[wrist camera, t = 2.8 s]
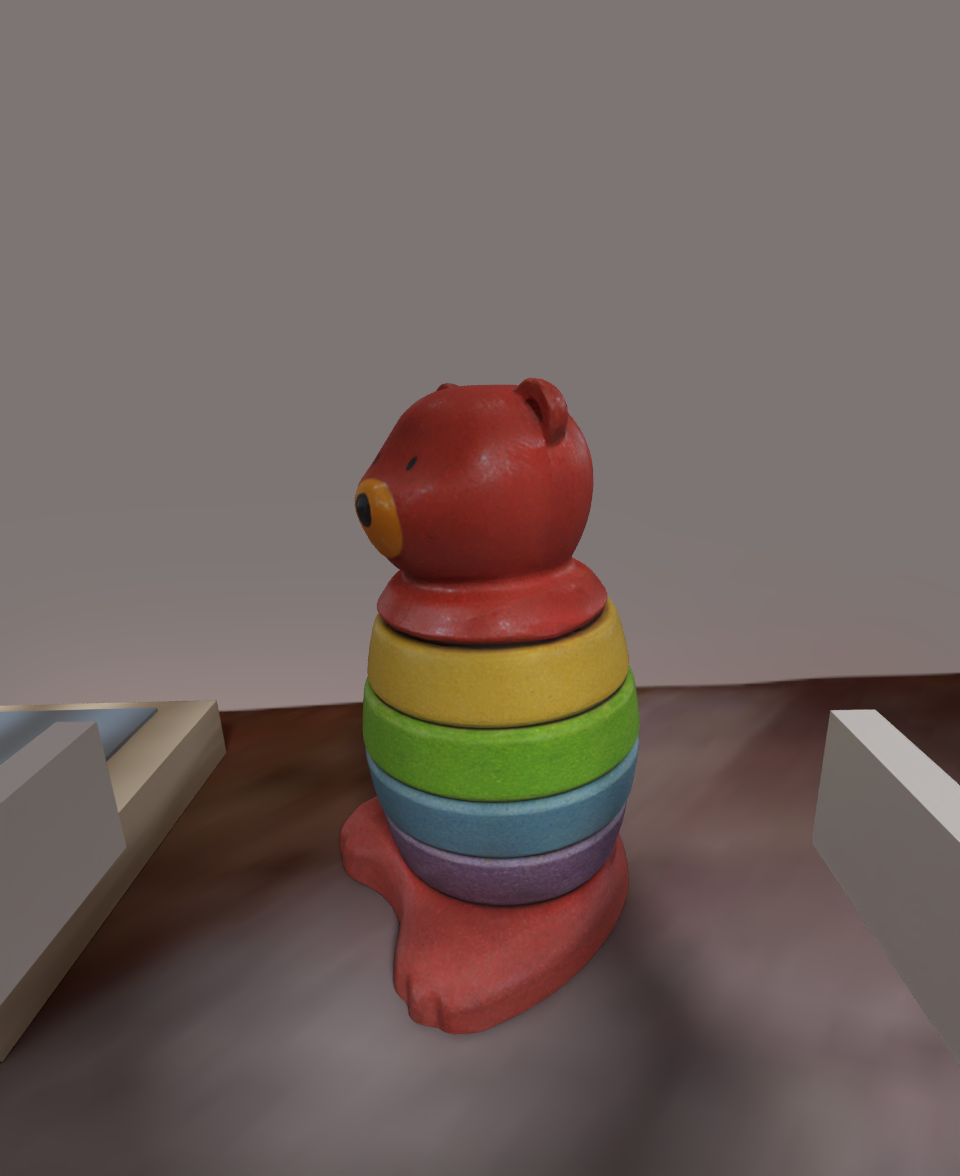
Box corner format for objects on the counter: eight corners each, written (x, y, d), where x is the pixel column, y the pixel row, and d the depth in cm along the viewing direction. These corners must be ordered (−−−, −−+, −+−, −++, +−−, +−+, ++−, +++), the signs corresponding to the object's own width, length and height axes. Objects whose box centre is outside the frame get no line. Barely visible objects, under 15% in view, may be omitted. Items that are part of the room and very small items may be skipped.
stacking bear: (328, 837, 27) (266, 389, 22) (539, 767, 31) (531, 375, 26) (424, 1067, 18) (357, 389, 13) (705, 925, 22) (748, 367, 17)
